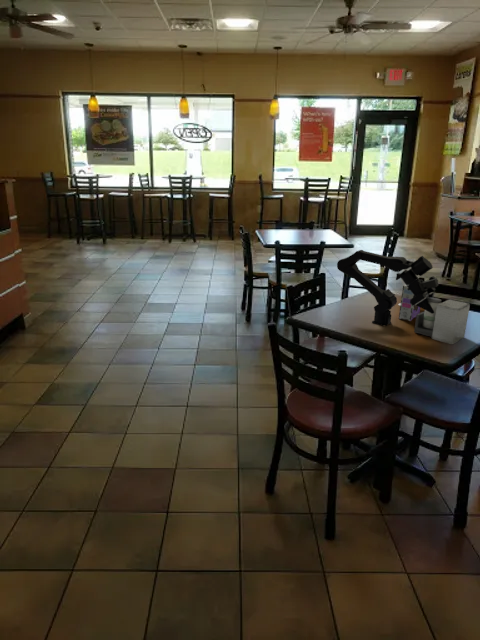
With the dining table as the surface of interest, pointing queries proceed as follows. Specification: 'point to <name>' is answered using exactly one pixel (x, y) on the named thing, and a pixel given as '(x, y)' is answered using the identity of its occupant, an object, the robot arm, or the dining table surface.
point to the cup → (429, 317)
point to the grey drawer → (420, 328)
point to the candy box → (407, 305)
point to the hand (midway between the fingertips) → (435, 311)
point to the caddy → (450, 321)
